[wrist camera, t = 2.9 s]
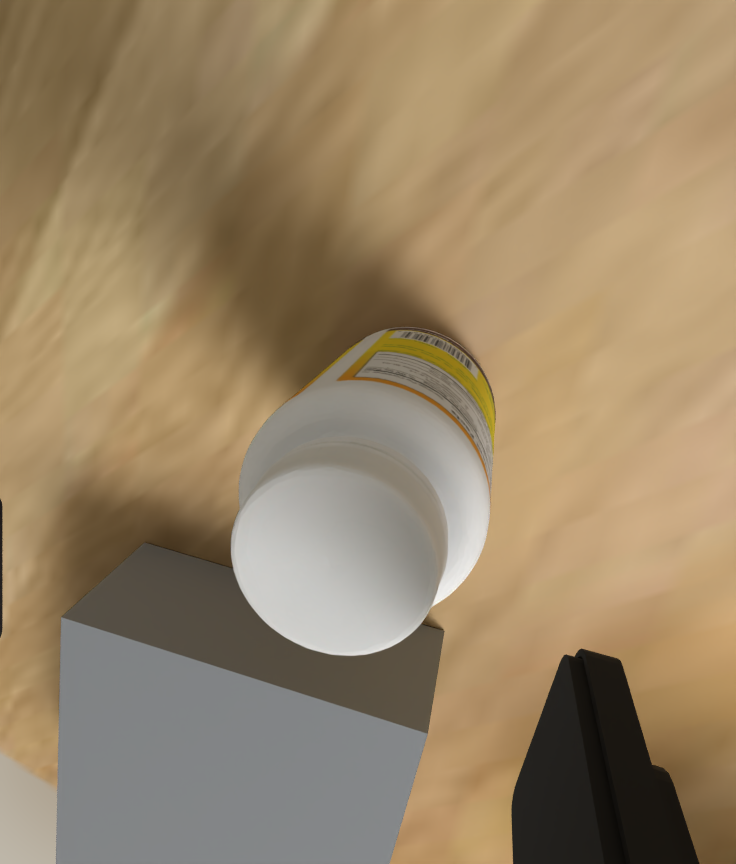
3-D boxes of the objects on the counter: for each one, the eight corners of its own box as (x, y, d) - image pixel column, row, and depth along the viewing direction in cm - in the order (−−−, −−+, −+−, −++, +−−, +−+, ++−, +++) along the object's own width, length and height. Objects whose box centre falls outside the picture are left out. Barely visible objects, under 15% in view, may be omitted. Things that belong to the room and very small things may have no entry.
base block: (144, 542, 25) (61, 617, 20) (444, 630, 23) (427, 733, 19) (127, 767, 29) (55, 870, 25) (380, 854, 28) (354, 983, 23)
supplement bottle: (352, 496, 23) (237, 702, 13) (309, 343, 21) (144, 450, 12) (512, 471, 21) (512, 684, 12) (478, 305, 20) (446, 391, 10)
